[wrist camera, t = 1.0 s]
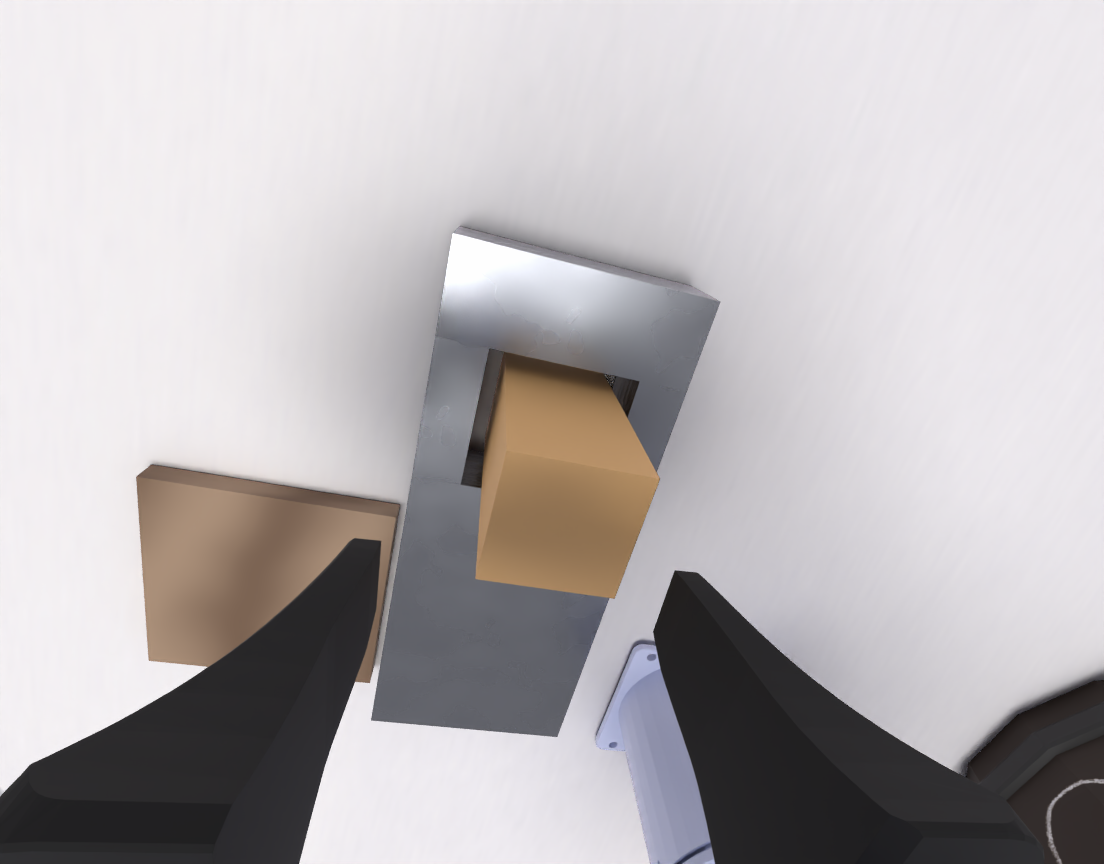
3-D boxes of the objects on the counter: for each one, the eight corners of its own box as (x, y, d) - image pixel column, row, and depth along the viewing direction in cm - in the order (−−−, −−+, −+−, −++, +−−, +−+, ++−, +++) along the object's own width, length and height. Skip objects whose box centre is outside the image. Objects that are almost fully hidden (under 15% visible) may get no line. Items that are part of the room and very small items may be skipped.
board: (400, 504, 24) (396, 517, 23) (373, 666, 28) (369, 682, 27) (151, 464, 22) (136, 476, 21) (161, 643, 26) (148, 660, 25)
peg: (601, 368, 22) (660, 478, 14) (575, 454, 23) (614, 598, 15) (504, 347, 21) (506, 450, 13) (484, 436, 23) (475, 579, 14)
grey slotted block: (691, 286, 21) (720, 301, 18) (551, 685, 29) (557, 737, 27) (459, 225, 19) (452, 232, 16) (383, 667, 28) (371, 720, 25)
